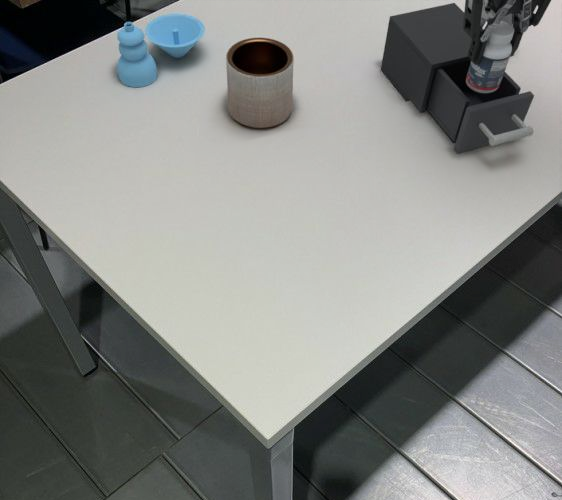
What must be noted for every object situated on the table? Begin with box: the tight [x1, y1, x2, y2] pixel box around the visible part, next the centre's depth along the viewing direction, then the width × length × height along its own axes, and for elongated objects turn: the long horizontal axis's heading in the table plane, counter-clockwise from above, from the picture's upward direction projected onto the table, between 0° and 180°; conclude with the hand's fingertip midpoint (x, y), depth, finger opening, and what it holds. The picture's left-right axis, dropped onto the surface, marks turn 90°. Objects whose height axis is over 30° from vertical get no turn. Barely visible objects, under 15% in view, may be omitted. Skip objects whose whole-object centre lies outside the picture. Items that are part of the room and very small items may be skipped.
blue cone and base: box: [116, 13, 206, 88], centre depth 108 cm, size 18×10×9 cm, turn 136°
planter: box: [225, 37, 295, 129], centre depth 102 cm, size 11×11×10 cm
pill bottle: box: [466, 21, 514, 93], centre depth 94 cm, size 5×5×9 cm
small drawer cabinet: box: [380, 2, 472, 114], centre depth 106 cm, size 15×13×10 cm
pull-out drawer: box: [425, 60, 535, 155], centre depth 100 cm, size 18×11×8 cm, turn 22°
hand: (491, 57), depth 94 cm, fingers closed on pill bottle, 5 cm apart
